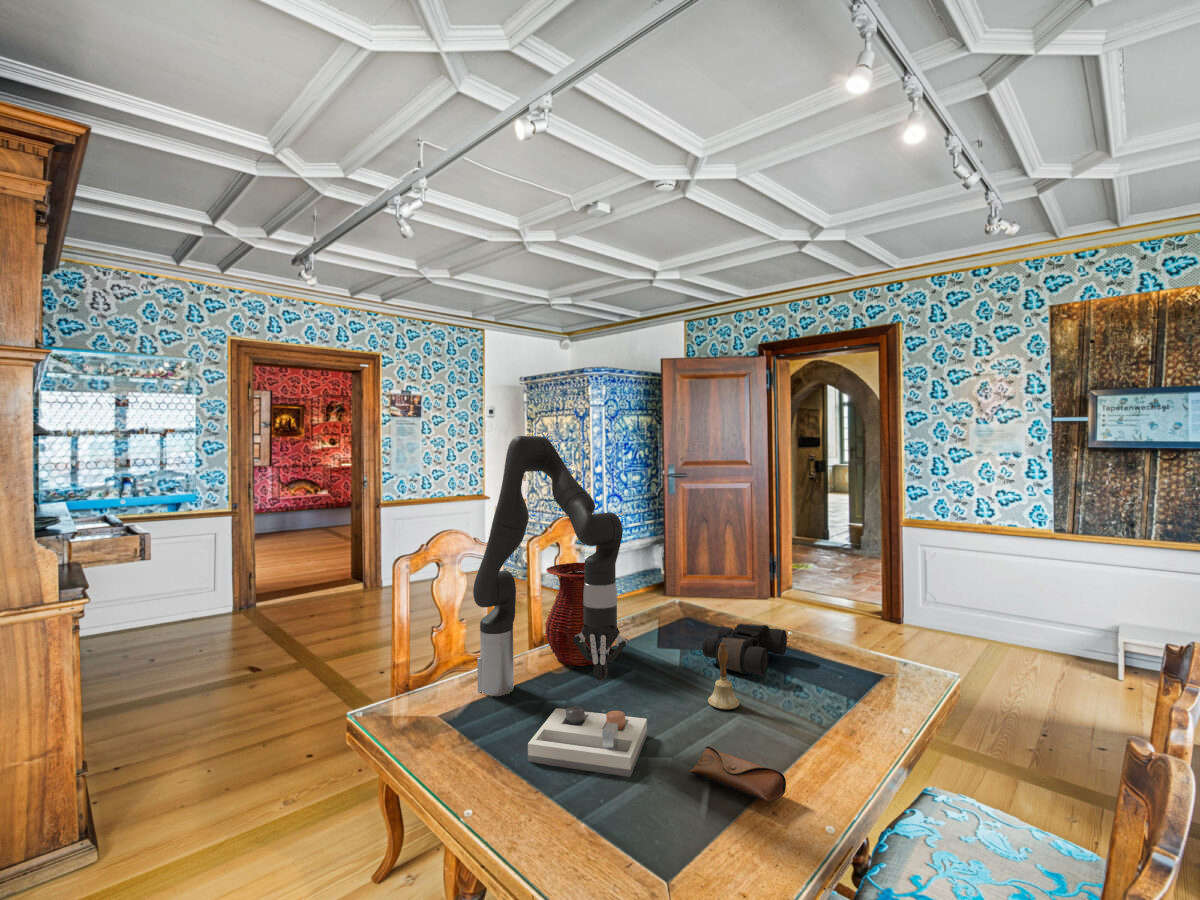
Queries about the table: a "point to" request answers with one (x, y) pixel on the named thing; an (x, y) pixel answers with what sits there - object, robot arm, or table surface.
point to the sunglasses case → (740, 775)
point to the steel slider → (610, 736)
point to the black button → (575, 715)
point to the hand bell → (723, 685)
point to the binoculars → (747, 647)
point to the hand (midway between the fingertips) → (600, 679)
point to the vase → (567, 614)
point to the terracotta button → (616, 718)
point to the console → (587, 744)
